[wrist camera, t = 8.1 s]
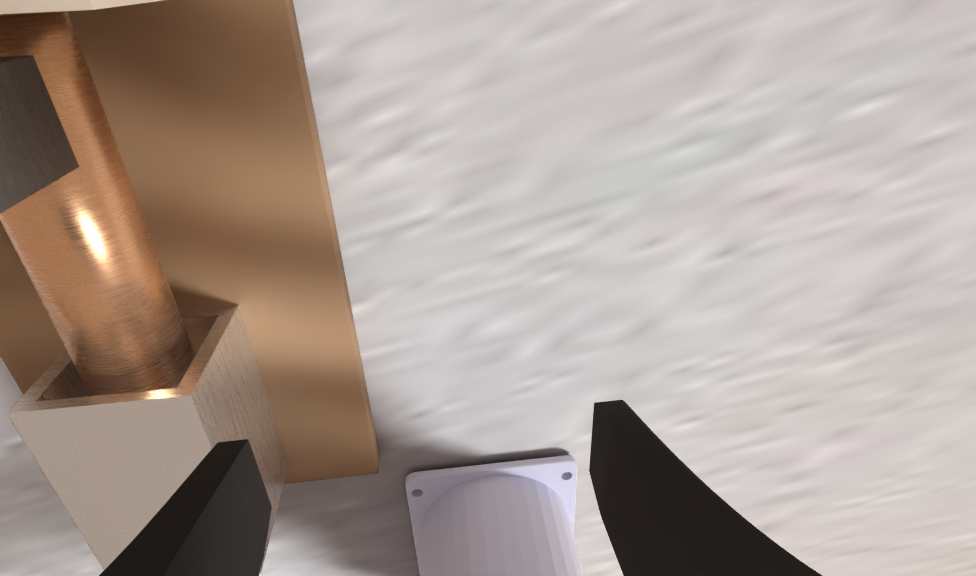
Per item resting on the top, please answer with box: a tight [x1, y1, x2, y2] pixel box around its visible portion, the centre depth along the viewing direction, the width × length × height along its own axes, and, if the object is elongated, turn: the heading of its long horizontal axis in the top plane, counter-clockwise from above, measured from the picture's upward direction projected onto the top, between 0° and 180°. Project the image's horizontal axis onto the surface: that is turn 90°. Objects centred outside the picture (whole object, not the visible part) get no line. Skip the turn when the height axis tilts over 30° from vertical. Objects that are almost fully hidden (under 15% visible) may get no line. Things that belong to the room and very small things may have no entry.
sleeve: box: [6, 305, 288, 573], centre depth 19 cm, size 8×5×5 cm, turn 2°
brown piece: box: [0, 11, 196, 396], centre depth 13 cm, size 14×3×6 cm, turn 2°
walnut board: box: [0, 0, 379, 484], centre depth 19 cm, size 23×12×1 cm, turn 2°
